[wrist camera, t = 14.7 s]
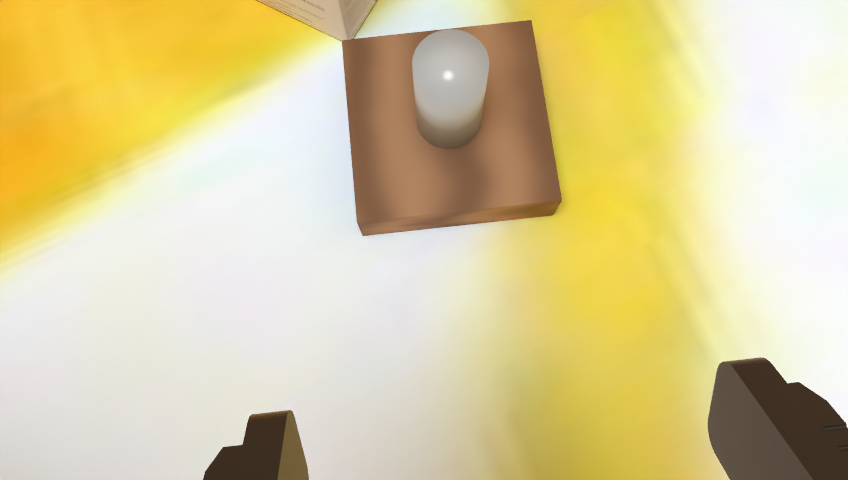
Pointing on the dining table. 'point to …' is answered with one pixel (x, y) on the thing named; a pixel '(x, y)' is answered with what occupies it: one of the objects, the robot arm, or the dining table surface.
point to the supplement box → (327, 14)
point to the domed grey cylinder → (449, 87)
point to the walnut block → (448, 168)
